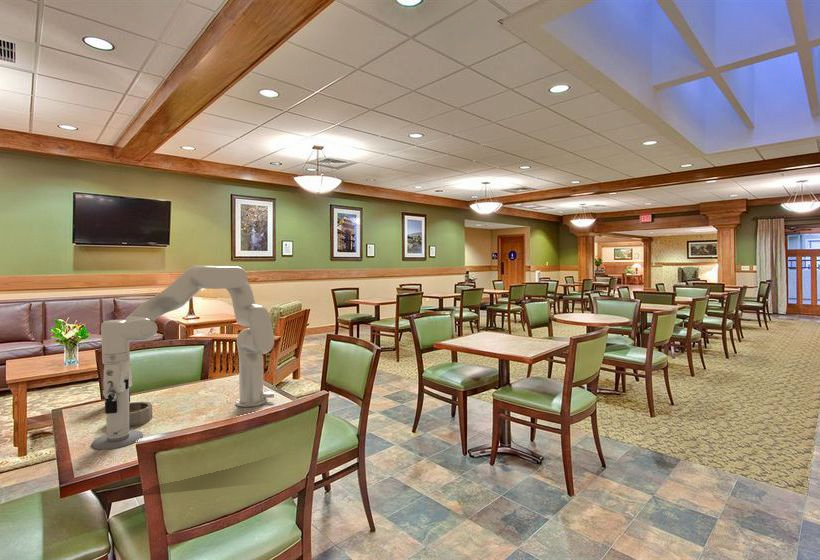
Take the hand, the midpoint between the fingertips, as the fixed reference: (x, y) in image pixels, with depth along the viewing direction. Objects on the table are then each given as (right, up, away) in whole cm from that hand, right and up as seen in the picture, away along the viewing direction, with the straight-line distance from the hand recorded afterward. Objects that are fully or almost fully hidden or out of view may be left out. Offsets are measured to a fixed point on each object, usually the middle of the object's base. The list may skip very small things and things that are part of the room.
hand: (118, 407), depth 142 cm
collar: (-7, -10, +17) cm, 21 cm away
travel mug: (0, -11, 0) cm, 11 cm away
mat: (0, -11, 0) cm, 11 cm away
